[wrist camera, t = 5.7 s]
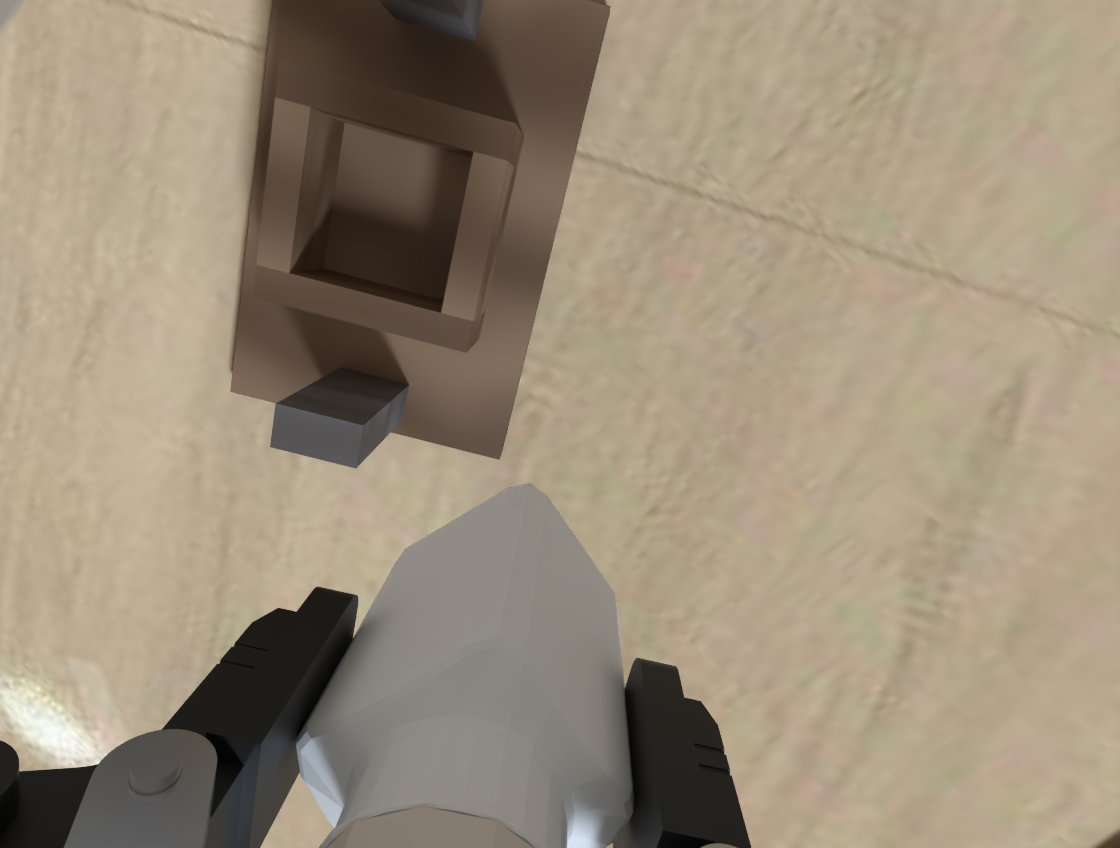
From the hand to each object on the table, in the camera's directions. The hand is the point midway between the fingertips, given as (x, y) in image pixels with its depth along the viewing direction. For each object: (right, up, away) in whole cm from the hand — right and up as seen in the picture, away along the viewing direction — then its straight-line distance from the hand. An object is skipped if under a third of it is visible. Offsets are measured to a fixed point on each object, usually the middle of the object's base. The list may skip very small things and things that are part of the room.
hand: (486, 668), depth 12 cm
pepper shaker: (0, +1, +4) cm, 4 cm away
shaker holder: (-5, +13, +14) cm, 20 cm away
